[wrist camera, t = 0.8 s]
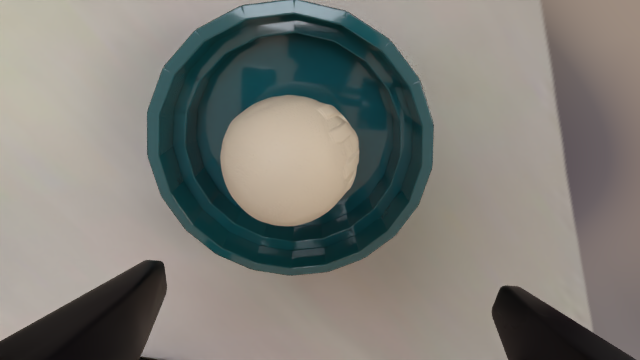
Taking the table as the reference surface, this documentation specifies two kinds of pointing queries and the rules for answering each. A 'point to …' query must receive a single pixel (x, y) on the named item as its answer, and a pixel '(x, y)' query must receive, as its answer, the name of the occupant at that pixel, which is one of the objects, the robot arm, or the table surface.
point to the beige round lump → (289, 159)
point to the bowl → (301, 80)
